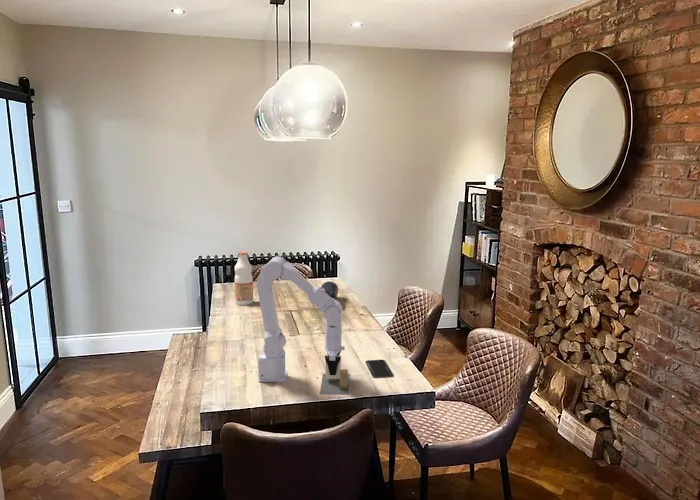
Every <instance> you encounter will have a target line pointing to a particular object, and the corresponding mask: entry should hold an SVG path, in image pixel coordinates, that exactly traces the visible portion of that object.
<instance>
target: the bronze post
mask: <svg viewBox="0 0 700 500" xmlns="http://www.w3.org/2000/svg"><path fill="white" fill-rule="evenodd" d="M348 370H349V369H342V368H341V369H340V390H348V374H349V371H348Z"/></svg>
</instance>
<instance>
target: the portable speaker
mask: <svg viewBox="0 0 700 500" xmlns="http://www.w3.org/2000/svg"><path fill="white" fill-rule="evenodd" d="M320 288H321V289H322V288H323V289H325V293H326V294H328V295H329V296H330V297H331V298H332V299H333V298H334V299H335V300H337V297H338V294H339V287H338V285H337V284H336V283H335V282H333V281H325V282H324V283H322V285H321V286H320Z"/></svg>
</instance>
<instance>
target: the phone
mask: <svg viewBox="0 0 700 500" xmlns="http://www.w3.org/2000/svg"><path fill="white" fill-rule="evenodd" d="M365 365H366V366H367V369H368V370H369V372H370V374H371V377H372V378H374V379H383V378H393V377H394V373H393V372H392V370H391V369H390V367H389V365H388V363H387V362H386V360H385V359H370V360H369V359H368V360H365Z"/></svg>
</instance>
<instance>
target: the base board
mask: <svg viewBox="0 0 700 500" xmlns="http://www.w3.org/2000/svg"><path fill="white" fill-rule="evenodd" d="M350 380H351V374H350V373H348V390H340V379H337V381H329V379H326V373H322V375H321V384H320V390H319V395H328V396H329V395H331V396H332V395H337V396H343V395H344V396H345V395H346V396H350V392H351V391H350V385H351V381H350Z"/></svg>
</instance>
